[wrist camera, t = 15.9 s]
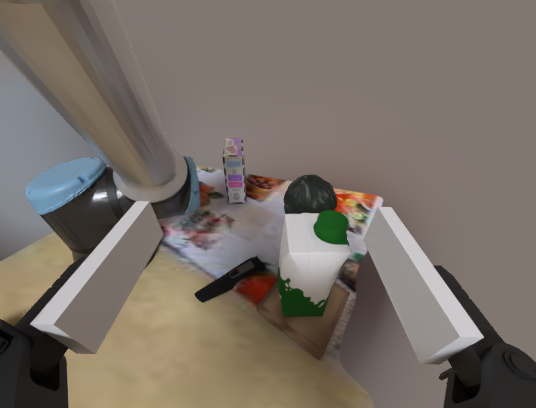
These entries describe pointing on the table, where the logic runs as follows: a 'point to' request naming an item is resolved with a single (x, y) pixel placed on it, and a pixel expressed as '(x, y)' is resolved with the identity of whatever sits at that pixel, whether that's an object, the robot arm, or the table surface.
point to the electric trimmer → (229, 279)
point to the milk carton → (310, 260)
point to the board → (305, 320)
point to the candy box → (234, 170)
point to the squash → (309, 196)
